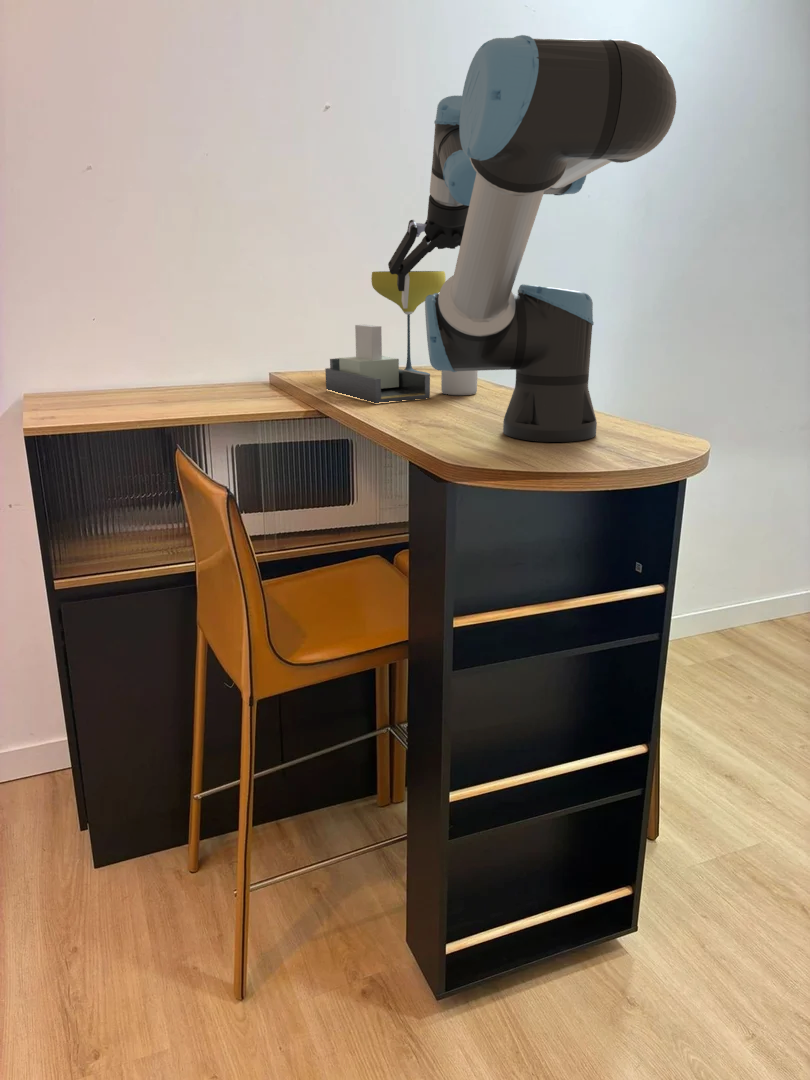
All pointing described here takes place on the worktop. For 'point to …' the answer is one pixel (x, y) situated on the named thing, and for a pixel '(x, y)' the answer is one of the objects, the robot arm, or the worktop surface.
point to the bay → (377, 385)
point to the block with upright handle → (371, 357)
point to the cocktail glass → (418, 291)
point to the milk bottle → (459, 382)
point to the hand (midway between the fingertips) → (439, 303)
